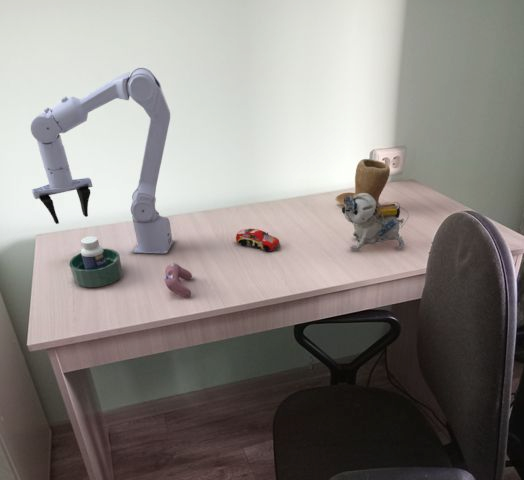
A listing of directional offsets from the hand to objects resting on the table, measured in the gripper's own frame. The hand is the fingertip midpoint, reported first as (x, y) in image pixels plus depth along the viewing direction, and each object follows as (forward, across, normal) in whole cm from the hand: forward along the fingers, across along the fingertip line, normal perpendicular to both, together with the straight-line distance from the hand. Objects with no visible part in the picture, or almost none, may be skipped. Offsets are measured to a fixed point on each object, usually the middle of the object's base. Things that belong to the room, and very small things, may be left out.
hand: (71, 219), depth 131 cm
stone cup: (+11, -84, +22) cm, 87 cm away
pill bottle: (+10, 0, +16) cm, 19 cm away
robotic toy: (+11, -67, +44) cm, 81 cm away
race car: (+11, -43, +25) cm, 50 cm away
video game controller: (+11, -14, +34) cm, 38 cm away
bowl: (+10, 0, +16) cm, 19 cm away
